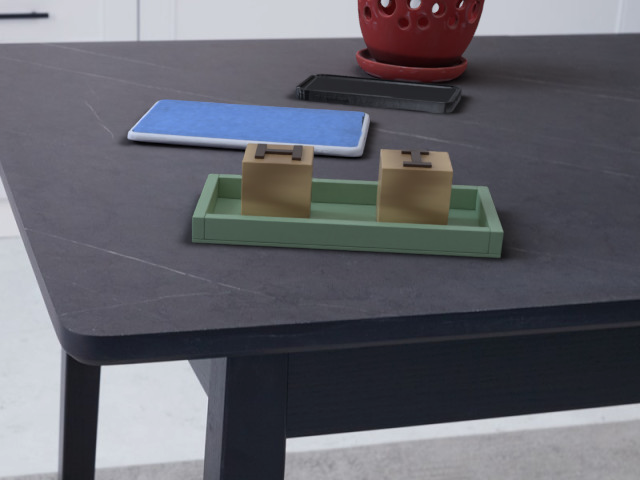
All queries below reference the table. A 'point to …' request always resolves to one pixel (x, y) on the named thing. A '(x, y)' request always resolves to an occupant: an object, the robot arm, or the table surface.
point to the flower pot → (417, 38)
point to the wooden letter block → (414, 187)
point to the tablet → (252, 126)
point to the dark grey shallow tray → (379, 93)
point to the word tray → (348, 221)
